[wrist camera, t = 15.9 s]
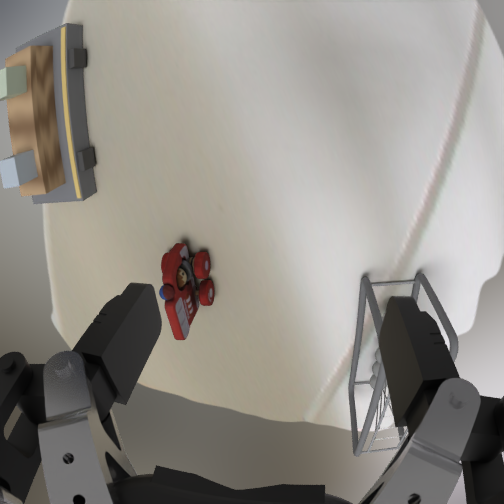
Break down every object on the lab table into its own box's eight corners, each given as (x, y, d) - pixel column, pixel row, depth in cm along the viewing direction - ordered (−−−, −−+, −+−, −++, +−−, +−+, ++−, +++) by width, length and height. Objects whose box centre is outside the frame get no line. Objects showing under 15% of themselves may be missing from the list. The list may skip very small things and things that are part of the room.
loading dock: (31, 48, 34) (14, 48, 30) (87, 23, 32) (71, 20, 28) (47, 195, 47) (33, 204, 43) (101, 191, 45) (87, 200, 42)
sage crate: (9, 73, 28) (-10, 76, 24) (26, 65, 27) (6, 67, 24) (10, 98, 30) (-9, 103, 26) (27, 91, 29) (7, 95, 26)
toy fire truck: (206, 236, 47) (186, 273, 38) (217, 302, 53) (202, 345, 44) (164, 237, 48) (137, 272, 39) (179, 301, 54) (159, 341, 45)
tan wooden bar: (27, 57, 31) (5, 59, 27) (52, 46, 30) (30, 45, 26) (41, 185, 42) (21, 196, 37) (66, 182, 41) (46, 193, 37)
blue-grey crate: (17, 153, 34) (-2, 161, 30) (33, 149, 33) (14, 157, 30) (21, 179, 36) (3, 188, 32) (38, 176, 35) (19, 185, 32)
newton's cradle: (360, 271, 47) (384, 355, 31) (421, 267, 45) (463, 344, 29) (347, 388, 61) (353, 460, 45) (393, 384, 59) (406, 453, 43)
